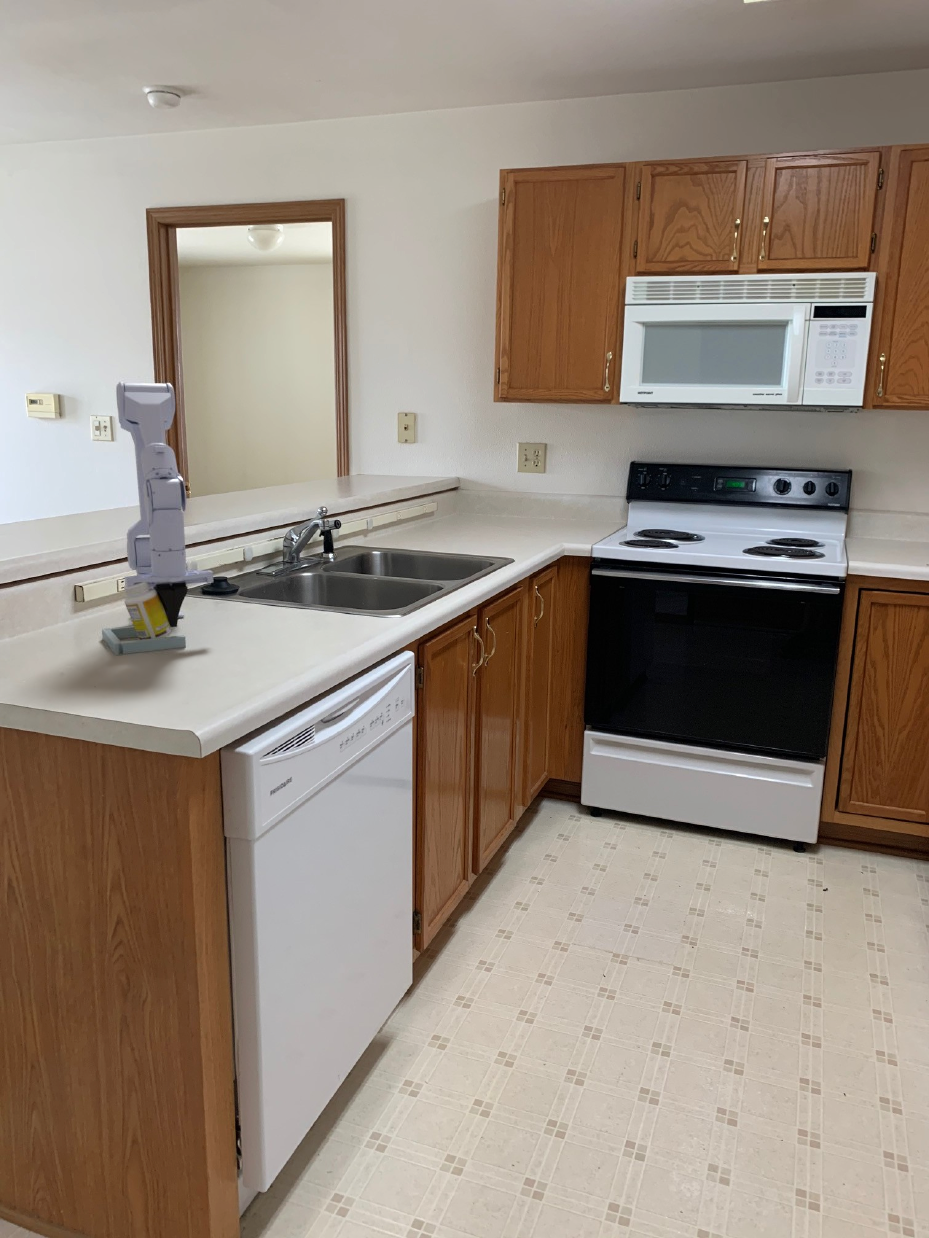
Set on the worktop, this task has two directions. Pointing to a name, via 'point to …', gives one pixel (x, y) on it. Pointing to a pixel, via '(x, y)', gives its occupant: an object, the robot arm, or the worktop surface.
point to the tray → (138, 641)
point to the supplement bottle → (146, 611)
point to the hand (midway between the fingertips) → (172, 626)
